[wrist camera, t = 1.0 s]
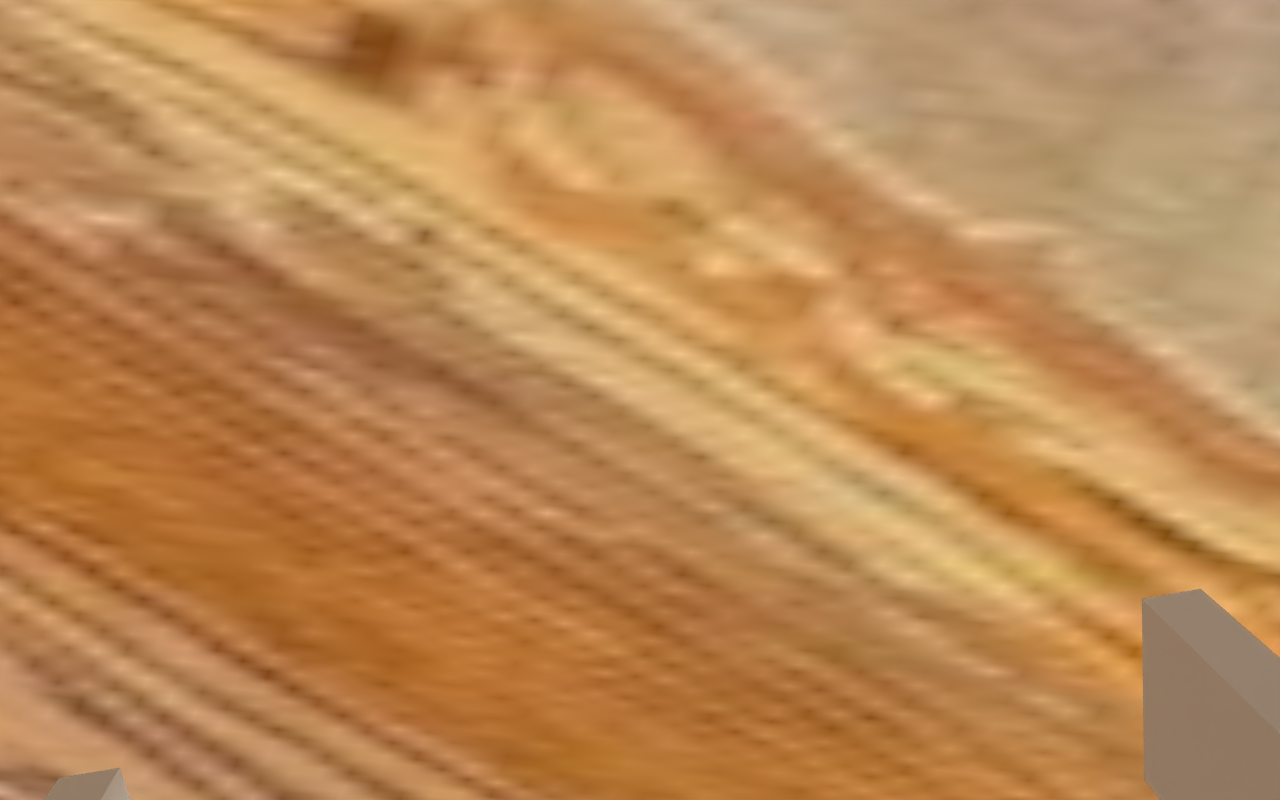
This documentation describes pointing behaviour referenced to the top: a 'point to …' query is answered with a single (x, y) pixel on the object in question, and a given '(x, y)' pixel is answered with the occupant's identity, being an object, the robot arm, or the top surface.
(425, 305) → the top surface
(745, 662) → the top surface
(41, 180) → the top surface
